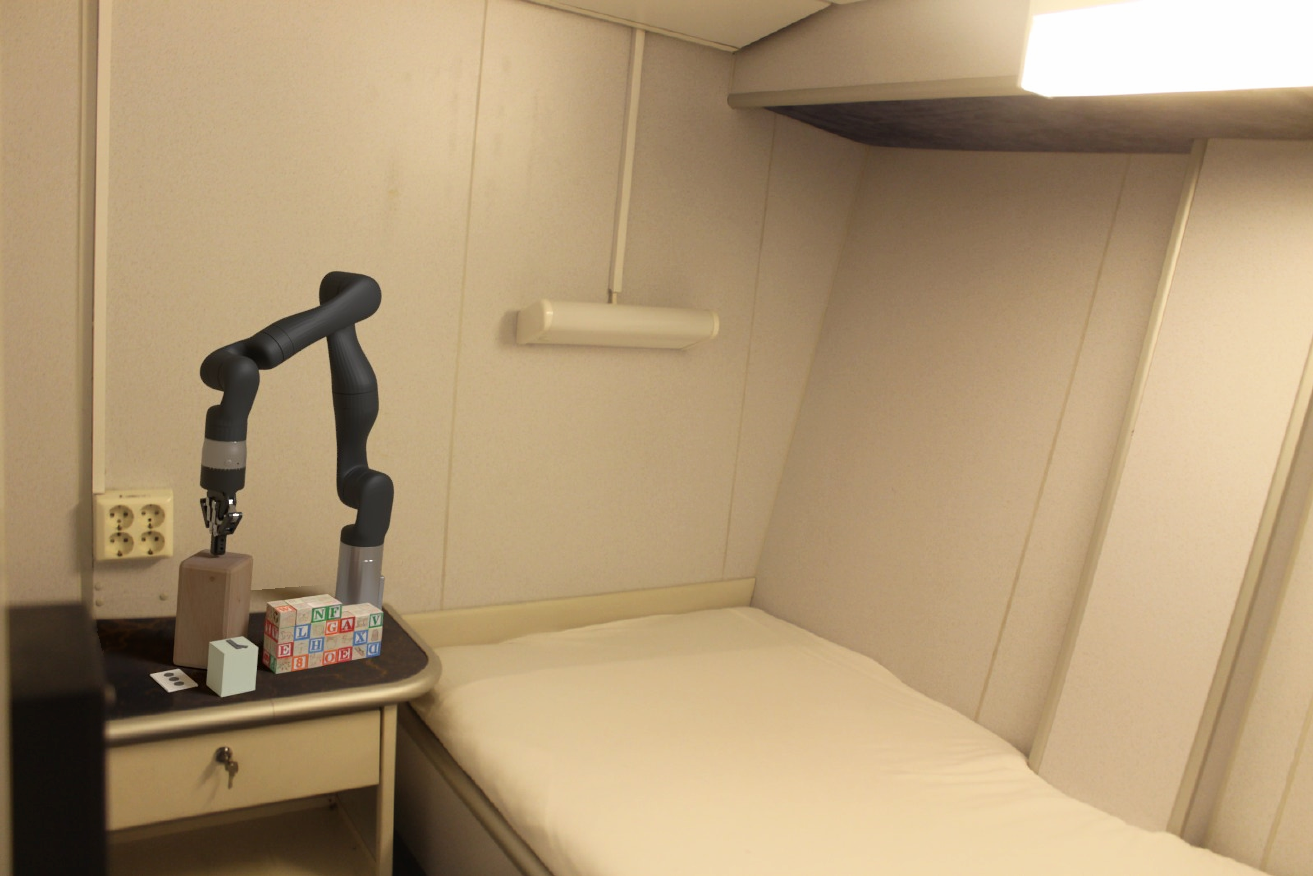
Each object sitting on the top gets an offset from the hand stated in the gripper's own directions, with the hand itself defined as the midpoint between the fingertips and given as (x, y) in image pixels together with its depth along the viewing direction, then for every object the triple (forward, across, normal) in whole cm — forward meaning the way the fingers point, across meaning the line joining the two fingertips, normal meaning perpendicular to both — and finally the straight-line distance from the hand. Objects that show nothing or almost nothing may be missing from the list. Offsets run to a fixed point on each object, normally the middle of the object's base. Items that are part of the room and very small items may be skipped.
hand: (217, 554), depth 181 cm
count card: (+21, -6, +9) cm, 23 cm away
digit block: (+21, -13, +2) cm, 25 cm away
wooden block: (+21, 0, 0) cm, 21 cm away
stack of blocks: (+21, -9, -18) cm, 29 cm away
